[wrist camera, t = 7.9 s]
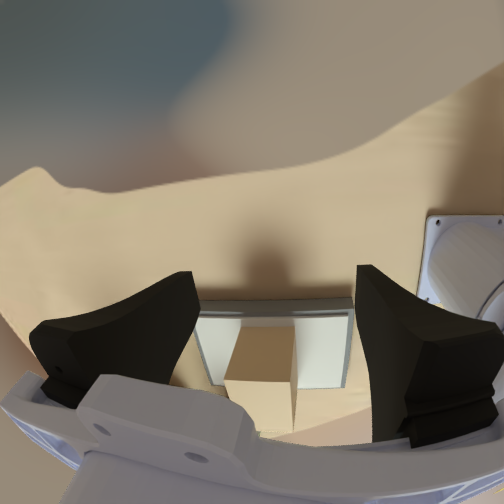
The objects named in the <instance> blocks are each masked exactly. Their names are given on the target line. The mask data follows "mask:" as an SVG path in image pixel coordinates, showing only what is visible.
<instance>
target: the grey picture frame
mask: <svg viewBox="0 0 504 504" xmlns="http://www.w3.org/2000/svg"><path fill="white" fill-rule="evenodd" d="M199 303H200V307H201V310H200V314H199V317H198V320H197V323H196V326H195V328H194V330H193V332H194V335H195V338H196V341H197V345H198V348H199V351H200V354H201V357H202V360H203V363H204V366H205V369H206V372H207V375H208V378H209V381H210V383H211V385H217V386H225V383H224V380H223V379H224V376H225V373H226V370H227V367H228V364H229V361H230V358H231V355H232V352H233V349H234V346H235V343H236V340H237V337H238V334H239V331H240V328H241V327H288V326H295V333H296V351H297V371H298V387H297V389H333V388H345V383H346V376H347V369H348V362H349V355H350V347H351V338H352V329H353V318H354V305H353V301H352V297H347V298H327V299H300V300H249V301H213V300H199Z"/></svg>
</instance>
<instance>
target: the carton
mask: <svg viewBox="0 0 504 504" xmlns="http://www.w3.org/2000/svg"><path fill="white" fill-rule="evenodd" d="M223 380H224V383H225V386H226V390H227V393H228V396H229V399H230V400H231V401H233V402H235V403H237V404H239V405H240V406H242V407H243V408H244V409H245V410H246V412H247V413H248V414H249V416H250V417H251V418H252V420H253V421H254V424H255V428H256V431H264V432H293V430H294V420H295V410H296V399H297V387H298V371H297V351H296V333H295V326H288V327H241V328H240V331H239V334H238V337H237V340H236V343H235V346H234V349H233V352H232V355H231V358H230V361H229V364H228V367H227V370H226V373H225V376H224V379H223Z"/></svg>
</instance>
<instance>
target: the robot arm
mask: <svg viewBox="0 0 504 504" xmlns="http://www.w3.org/2000/svg"><path fill="white" fill-rule="evenodd" d="M499 219H500V221H499ZM437 220H439V223H438V224H436V221H437ZM498 221H499V223H498ZM426 298H428V299H427V300H425V299H426ZM436 303H442V305H443V306H444V308H445V309H442V308H440V307H437V306H435V305H433V304H436ZM200 310H201V307H200V303H199V300H198V296H197V292H196V288H195V283H194V279H193V275H192V271H180V272H177V273H174V274H172V275H170V276H168V277H166V278H164V279H162V280H161V281H159V282H157V283H155V284H153V285H151V286H150V287H148V288H146V289H144V290H142V291H140V292H138V293H136V294H134V295H132V296H131V297H129V298H126V299H124V300H122V301H120V302H117V303H115V304H112V305H110V306H107V307H104V308H101V309H98V310H95V311H92V312H89V313H85V314H81V315H77V316H72V317H66V318H59V319H52V320H44V321H42V322H41V323H40V324H39V325H38V326H37V327H36V328H35V329H34V330H32V331H31V332H30V335H29V341H30V345H31V348H32V350H33V352H34V354H35V355H36V357H37V359H38V360H39V362H40V363H41V365H42V366H43V368H44V369H45V371H46V372H47V374H48V375H49V377H48V378H47V380H46V381H45V380H44V379H43V378H42V377H41V376H39V375H37V374H35V373H33V372H30V371H26V373H25V374H24V375H23V376H22V377H21V378H20V379H19V381H18V382H17V383H16V384H15V385H14V386H13V388H12V389H11V390H10V391H9V393H7V395H6V396H5V397H4V398H3V399H2V401H1V402H0V406H1V408H2V409H3V410H4V411H5V413H6V414H7V415H8V416H9V417H10V418H11V419H12V420H13V421H14V423H15V424H16V425H17V426H18V427H19V428H20V429H21V430H22V431H23V432H24V433H25V434H26V435H27V436H28V437H29V438H30V439H31V440H32V441H33V442H35V443H36V444H38V445H39V446H40V447H42V448H43V449H45V450H46V451H47V452H49V453H50V454H52V455H53V456H55V457H56V458H58V459H59V460H60V461H62V462H63V463H65V464H67V465H68V466H70V467H72V468H73V469H74V470H76V471H77V472H76V473H75V475H74V477H73V478H72V480H71V482H70V484H69V486H68V487H67V489H66V491H65V493H64V495H63V497H62V499H61V500H60V502H59V504H458V503H461V502H463V501H465V500H467V499H470V498H472V497H474V496H476V495H479V494H481V493H483V492H485V491H487V490H489V489H491V488H494V487H495V486H497V485H499V484H501V483H503V482H504V215H432V216H429V217H428V218H427V221H426V231H425V241H424V251H423V259H422V266H421V273H420V279H419V285H418V291H417V296H415V295H414V294H412V293H410V292H409V291H407V290H406V289H404V288H403V287H401V286H400V285H398V284H397V283H395V282H394V281H393V280H391V279H390V278H389V277H387V276H386V275H385V274H384V273H382V272H381V271H380V270H378V269H377V268H376V267H374V266H373V265H371V264H370V265H357V275H356V293H355V314H356V321H357V327H358V331H359V335H360V339H361V342H362V346H363V350H364V354H365V358H366V362H367V366H368V372H369V380H370V390H371V404H372V434H373V435H372V443H366V444H356V445H343V446H323V447H322V446H321V447H313V446H306V445H299V444H293V443H287V442H282V441H276V440H271V439H267V438H262V437H258V435H257V432H256V428H255V424H254V421H253V420H252V418H251V417H250V416H249V414H248V413H247V412H246V410H245V409H244V408H243V407H242V406H240V405H239V404H237V403H235V402H233V401H231V400H230V399H228V398H226V397H224V396H222V395H218V394H214V393H211V392H207V391H203V390H198V389H190V388H183V387H177V386H171V385H168V384H169V381H170V378H171V375H172V373H173V370H174V368H175V365H176V363H177V361H178V359H179V357H180V355H181V353H182V351H183V349H184V348H185V346H186V344H187V342H188V340H189V338H190V336H191V334H192V332H193V330H194V328H195V326H196V323H197V320H198V317H199V314H200Z"/></svg>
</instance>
